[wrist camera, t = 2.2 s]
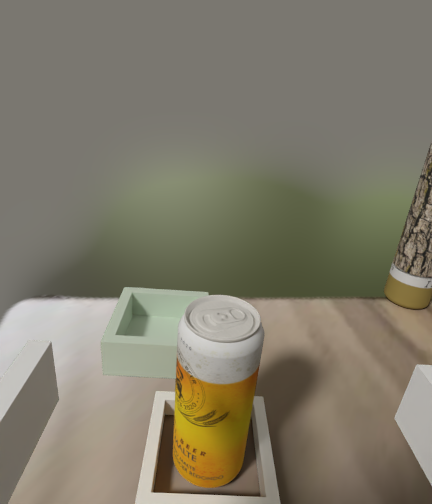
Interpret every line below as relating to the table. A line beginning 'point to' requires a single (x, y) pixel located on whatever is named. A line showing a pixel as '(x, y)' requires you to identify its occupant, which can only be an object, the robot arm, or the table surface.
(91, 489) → the table surface
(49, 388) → the robot arm
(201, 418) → the beer can
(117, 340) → the socket
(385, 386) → the table surface
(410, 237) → the paper tube
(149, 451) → the collar
